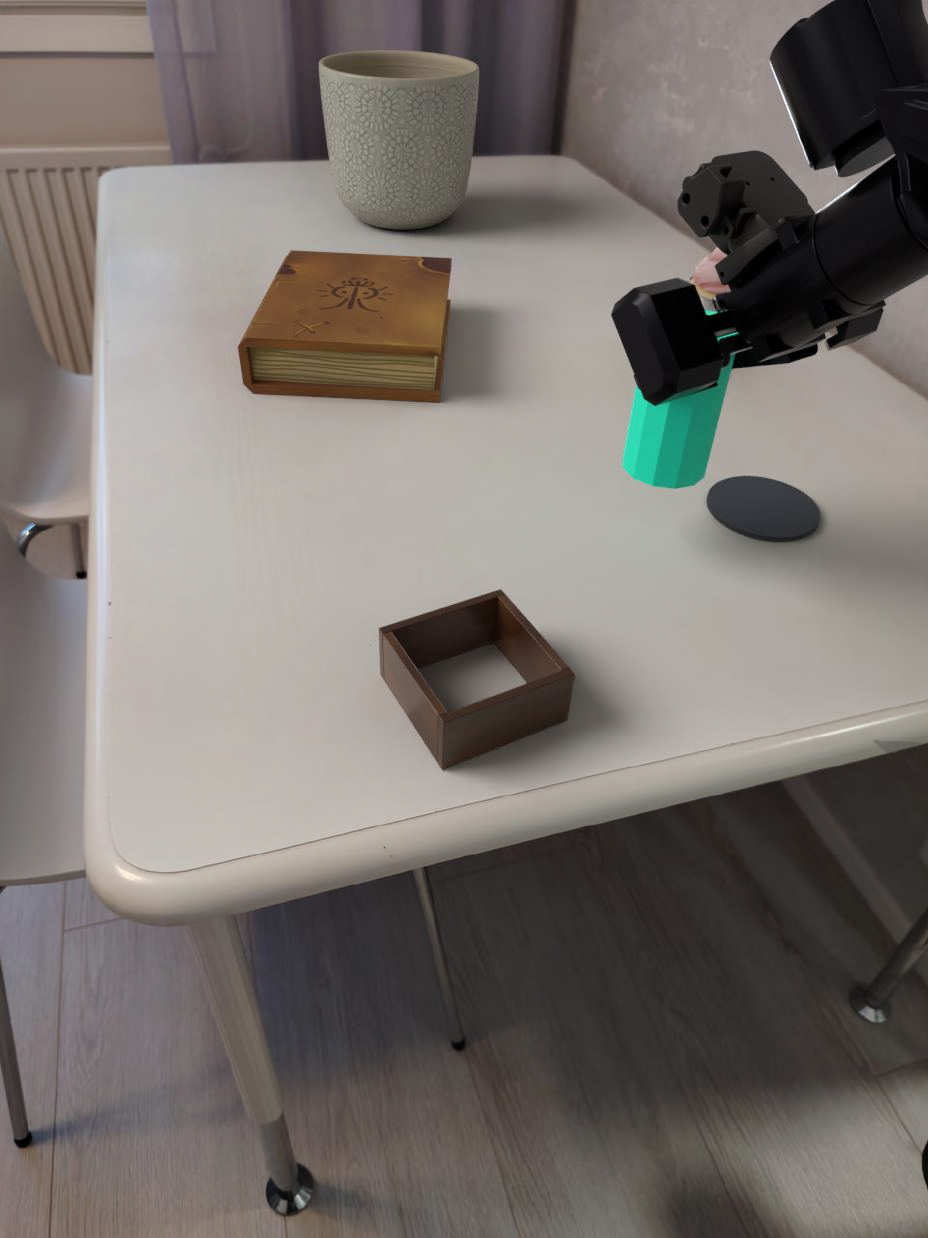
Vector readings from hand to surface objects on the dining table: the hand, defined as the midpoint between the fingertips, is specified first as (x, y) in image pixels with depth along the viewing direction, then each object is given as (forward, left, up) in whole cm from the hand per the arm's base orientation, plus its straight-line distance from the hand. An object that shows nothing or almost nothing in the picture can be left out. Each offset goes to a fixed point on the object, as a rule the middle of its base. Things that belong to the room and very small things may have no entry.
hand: (667, 373), depth 59 cm
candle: (-1, 0, -7) cm, 7 cm away
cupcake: (+28, -32, -13) cm, 45 cm away
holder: (-10, +20, -13) cm, 26 cm away
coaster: (-2, -11, -13) cm, 18 cm away
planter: (+78, -16, -13) cm, 81 cm away
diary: (+40, +7, -13) cm, 43 cm away
